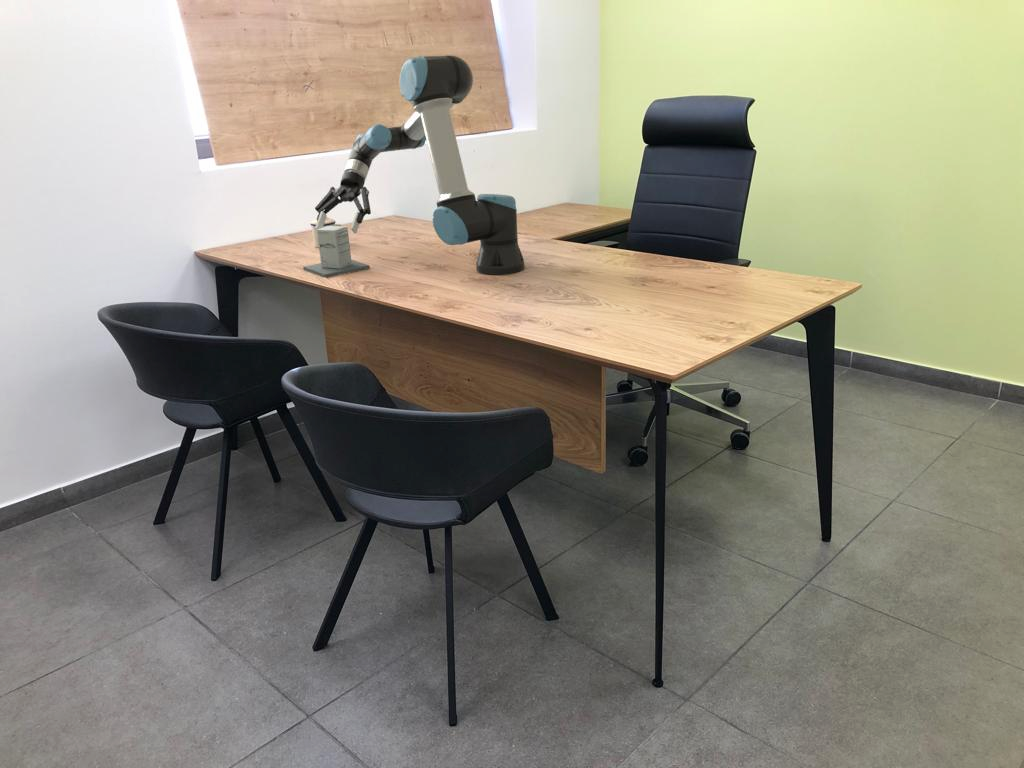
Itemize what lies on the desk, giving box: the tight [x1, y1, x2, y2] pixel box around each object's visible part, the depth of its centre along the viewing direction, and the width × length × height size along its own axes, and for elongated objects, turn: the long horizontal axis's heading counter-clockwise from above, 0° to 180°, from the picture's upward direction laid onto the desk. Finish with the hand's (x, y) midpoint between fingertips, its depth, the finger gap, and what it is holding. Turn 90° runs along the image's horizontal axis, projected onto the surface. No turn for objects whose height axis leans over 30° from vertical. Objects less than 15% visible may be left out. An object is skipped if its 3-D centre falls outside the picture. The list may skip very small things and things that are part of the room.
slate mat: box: [302, 259, 370, 278], centre depth 266 cm, size 16×16×1 cm
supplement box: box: [317, 225, 352, 269], centre depth 263 cm, size 7×7×13 cm
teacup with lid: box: [310, 216, 343, 249], centre depth 301 cm, size 12×9×12 cm
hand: (335, 230), depth 264 cm, fingers open, 13 cm apart
